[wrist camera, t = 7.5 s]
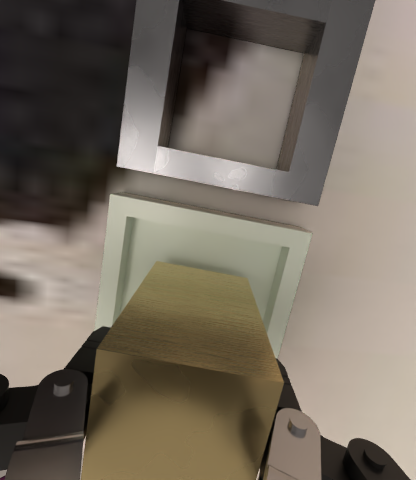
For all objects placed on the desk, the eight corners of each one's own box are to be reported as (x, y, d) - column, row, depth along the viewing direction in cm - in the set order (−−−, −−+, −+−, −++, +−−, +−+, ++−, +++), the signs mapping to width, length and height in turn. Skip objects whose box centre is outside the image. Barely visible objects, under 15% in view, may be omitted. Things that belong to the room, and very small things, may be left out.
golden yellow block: (156, 260, 15) (96, 348, 7) (247, 278, 15) (284, 382, 7) (143, 342, 16) (79, 496, 8) (228, 357, 16) (243, 523, 8)
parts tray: (122, 192, 17) (110, 194, 15) (301, 227, 17) (312, 233, 15) (102, 352, 19) (89, 372, 17) (259, 381, 19) (264, 403, 17)
